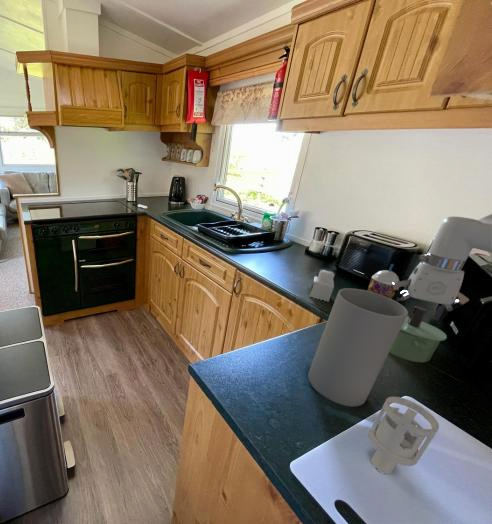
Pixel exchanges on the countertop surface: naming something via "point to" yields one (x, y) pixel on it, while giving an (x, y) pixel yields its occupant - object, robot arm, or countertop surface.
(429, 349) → the pot
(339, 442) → the countertop surface
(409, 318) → the lid
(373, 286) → the smoothie
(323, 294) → the medicine bottle
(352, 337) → the cylinder vase
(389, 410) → the strainer
